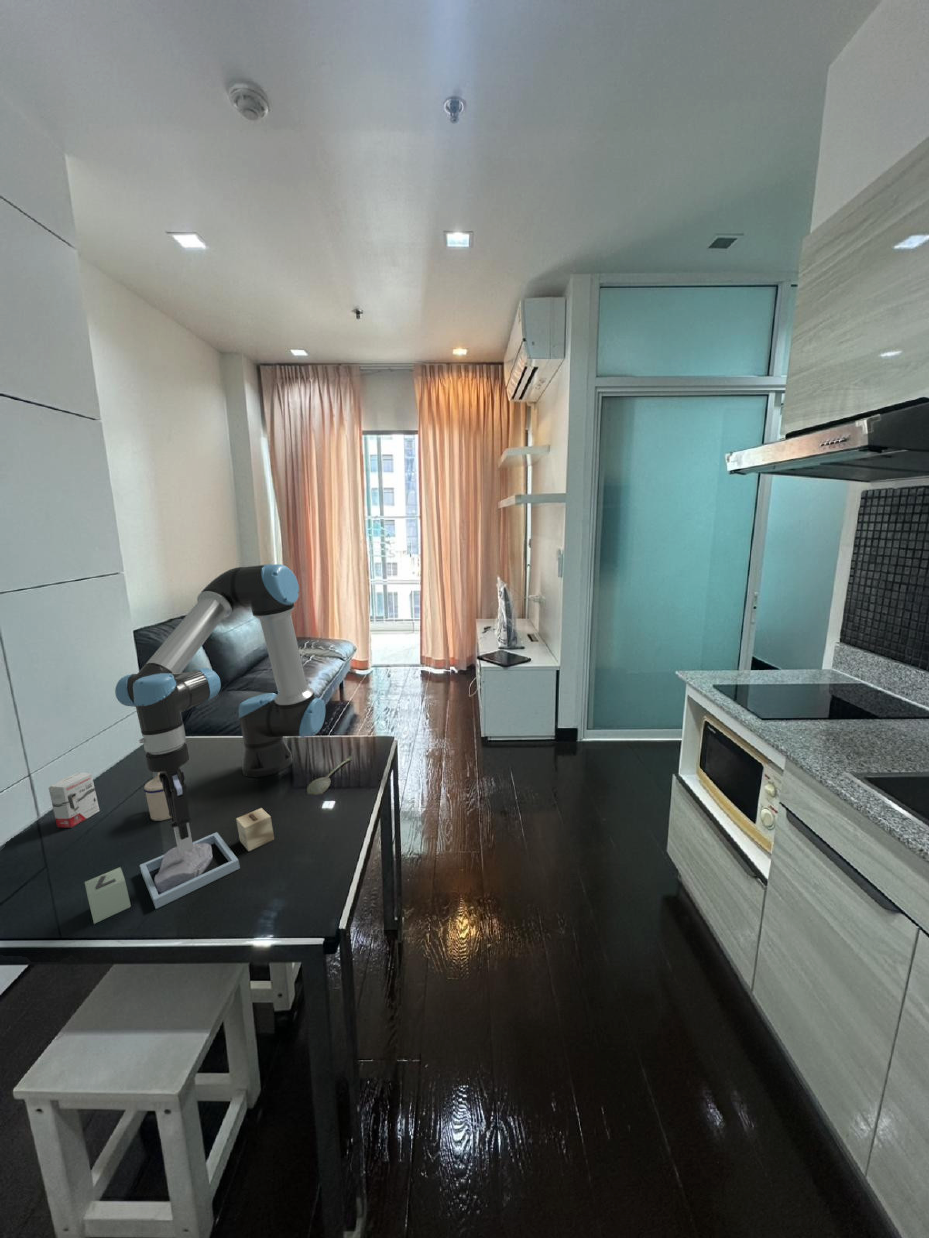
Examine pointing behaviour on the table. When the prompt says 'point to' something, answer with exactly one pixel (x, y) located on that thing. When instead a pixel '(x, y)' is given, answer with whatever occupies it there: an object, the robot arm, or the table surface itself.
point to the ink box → (74, 799)
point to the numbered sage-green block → (107, 894)
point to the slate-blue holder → (193, 883)
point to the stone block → (182, 866)
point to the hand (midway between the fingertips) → (185, 849)
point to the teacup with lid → (156, 800)
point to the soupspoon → (323, 781)
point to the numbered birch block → (255, 829)
